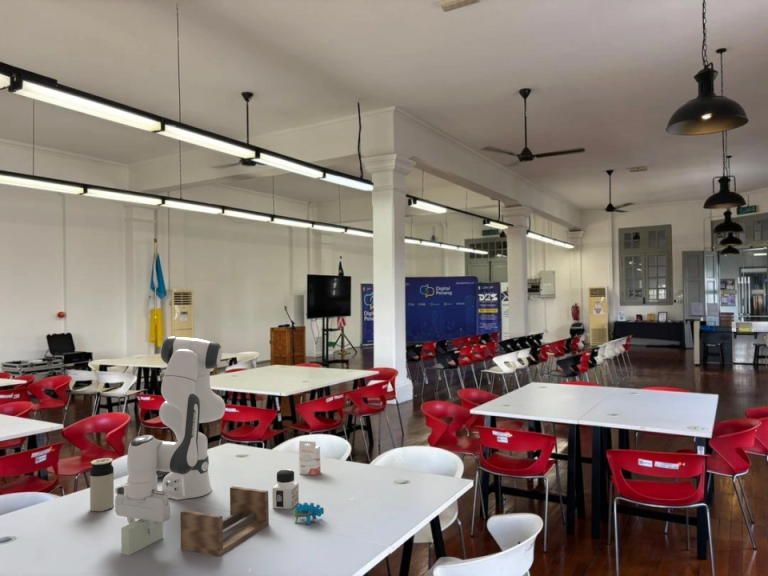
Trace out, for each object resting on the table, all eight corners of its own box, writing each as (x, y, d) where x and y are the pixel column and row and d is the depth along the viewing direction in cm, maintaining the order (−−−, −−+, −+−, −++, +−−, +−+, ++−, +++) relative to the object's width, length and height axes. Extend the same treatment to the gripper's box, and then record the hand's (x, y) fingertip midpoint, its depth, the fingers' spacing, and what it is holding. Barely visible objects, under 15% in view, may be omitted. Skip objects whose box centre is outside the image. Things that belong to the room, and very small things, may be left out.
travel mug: (118, 506, 213) (118, 458, 214) (100, 513, 206) (99, 464, 207) (104, 503, 217) (103, 457, 217) (85, 510, 209) (85, 462, 210)
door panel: (121, 554, 171) (121, 527, 172) (156, 536, 184) (155, 512, 184) (128, 555, 170) (128, 529, 170) (162, 537, 183) (162, 513, 183)
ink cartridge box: (321, 472, 252) (320, 439, 253) (316, 475, 248) (316, 442, 248) (303, 470, 255) (303, 438, 255) (299, 474, 250) (298, 441, 251)
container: (291, 509, 206) (291, 474, 206) (272, 508, 208) (271, 473, 208) (299, 502, 214) (298, 468, 214) (280, 501, 215) (279, 467, 216)
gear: (328, 512, 198) (318, 499, 191) (326, 529, 193) (316, 516, 187) (299, 515, 200) (289, 502, 194) (296, 531, 196) (286, 518, 189)
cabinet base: (180, 548, 174) (180, 511, 174) (233, 518, 198) (232, 486, 198) (219, 556, 168) (219, 517, 169) (268, 524, 192) (268, 490, 193)
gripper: (175, 488, 177) (175, 532, 176) (127, 482, 185) (127, 524, 184) (160, 495, 171) (160, 540, 170) (111, 488, 179) (111, 531, 178)
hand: (142, 532), depth 177 cm, fingers open, 6 cm apart
